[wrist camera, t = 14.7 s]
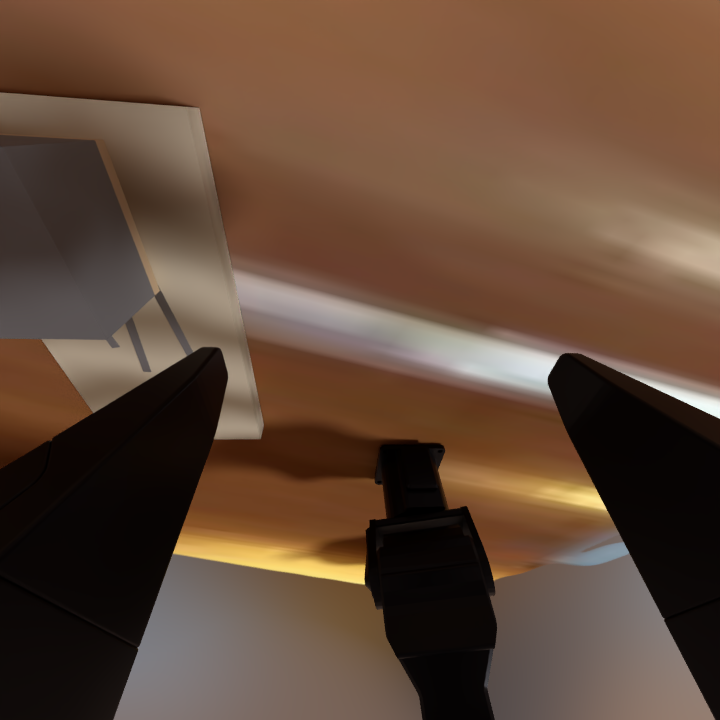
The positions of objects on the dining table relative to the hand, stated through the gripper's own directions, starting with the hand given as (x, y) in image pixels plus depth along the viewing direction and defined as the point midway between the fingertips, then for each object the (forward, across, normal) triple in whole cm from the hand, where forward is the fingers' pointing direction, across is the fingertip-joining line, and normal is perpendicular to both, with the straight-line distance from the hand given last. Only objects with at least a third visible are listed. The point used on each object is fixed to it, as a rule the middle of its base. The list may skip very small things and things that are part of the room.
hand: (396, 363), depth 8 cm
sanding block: (+10, +14, 0) cm, 17 cm away
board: (+12, +14, +6) cm, 19 cm away
